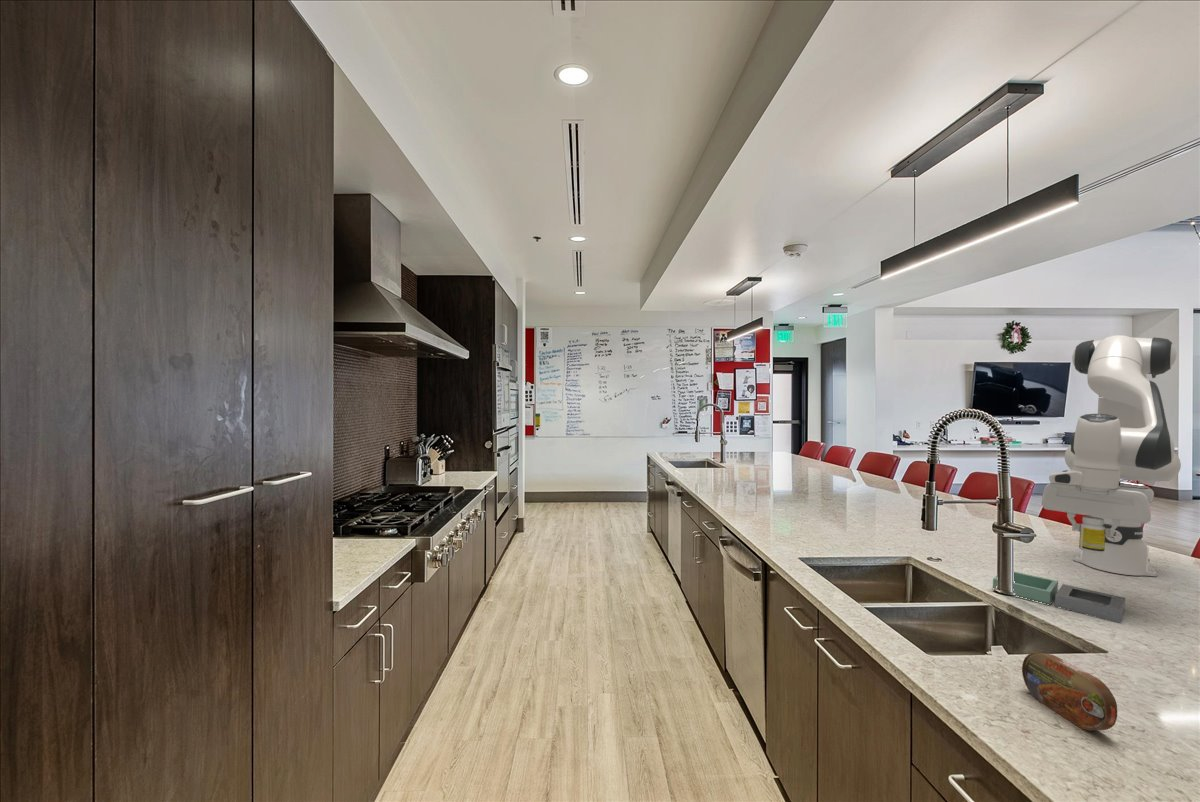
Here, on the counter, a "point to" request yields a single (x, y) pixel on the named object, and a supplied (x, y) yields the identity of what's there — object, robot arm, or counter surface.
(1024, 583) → the tray
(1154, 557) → the counter surface
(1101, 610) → the grey slotted block
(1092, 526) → the supplement bottle
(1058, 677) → the tin
